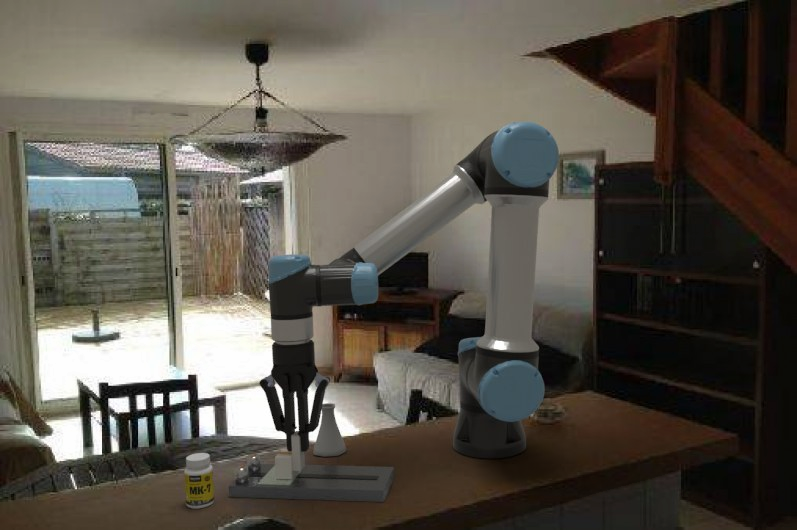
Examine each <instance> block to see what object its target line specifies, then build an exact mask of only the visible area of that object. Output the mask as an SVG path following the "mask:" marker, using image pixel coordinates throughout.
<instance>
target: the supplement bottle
mask: <svg viewBox="0 0 797 530" xmlns="http://www.w3.org/2000/svg"><path fill="white" fill-rule="evenodd" d="M185 463H186V464H185V465H186V468H185V469H184V488H185V489H184V490H185V492H184V493H185V505H186V506H187V507H188V508H189V509H190V508H191V509H194V510H195V509H197V510H198V509H203V508H206V507H209V506H211V505H213V503H214V502H215V488H214V486H215V485H214V469H213V466H212V464H211V456H210V454H209V453H206V452H198V453H197V452H196V453H192V454H189V455H188V456H186V458H185Z"/></svg>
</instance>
